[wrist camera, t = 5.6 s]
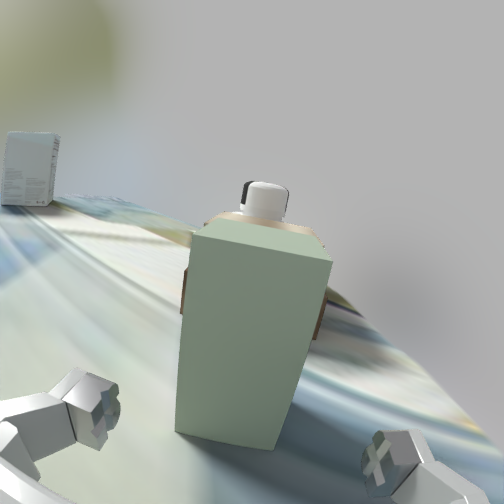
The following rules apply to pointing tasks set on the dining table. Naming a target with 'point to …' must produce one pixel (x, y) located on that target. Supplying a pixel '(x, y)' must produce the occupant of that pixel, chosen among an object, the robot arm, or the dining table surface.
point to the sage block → (246, 330)
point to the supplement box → (29, 168)
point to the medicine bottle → (264, 201)
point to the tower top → (265, 223)
